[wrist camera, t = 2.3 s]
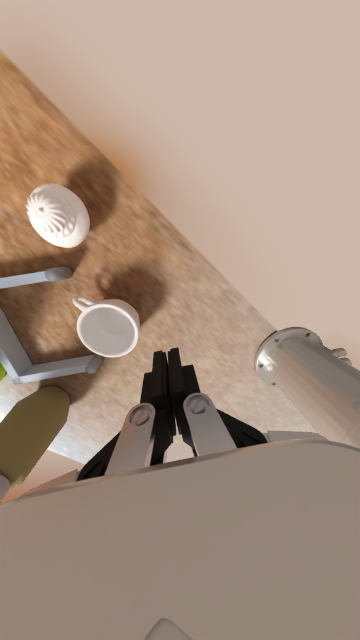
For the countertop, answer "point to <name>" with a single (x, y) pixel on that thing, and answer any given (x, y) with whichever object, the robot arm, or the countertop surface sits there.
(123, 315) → the teacup
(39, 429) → the squeeze bottle
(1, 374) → the soap dispenser
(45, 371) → the bay
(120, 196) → the countertop surface
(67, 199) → the muffin
